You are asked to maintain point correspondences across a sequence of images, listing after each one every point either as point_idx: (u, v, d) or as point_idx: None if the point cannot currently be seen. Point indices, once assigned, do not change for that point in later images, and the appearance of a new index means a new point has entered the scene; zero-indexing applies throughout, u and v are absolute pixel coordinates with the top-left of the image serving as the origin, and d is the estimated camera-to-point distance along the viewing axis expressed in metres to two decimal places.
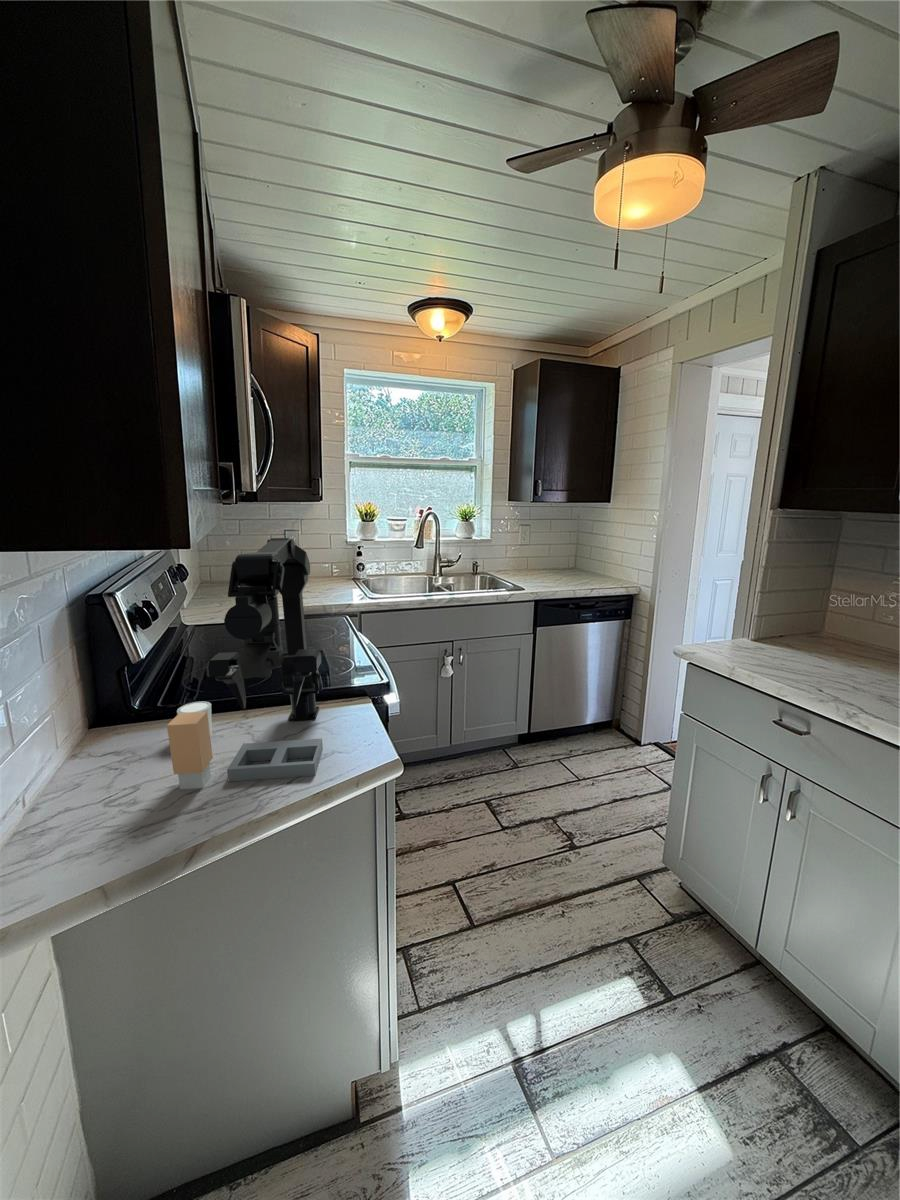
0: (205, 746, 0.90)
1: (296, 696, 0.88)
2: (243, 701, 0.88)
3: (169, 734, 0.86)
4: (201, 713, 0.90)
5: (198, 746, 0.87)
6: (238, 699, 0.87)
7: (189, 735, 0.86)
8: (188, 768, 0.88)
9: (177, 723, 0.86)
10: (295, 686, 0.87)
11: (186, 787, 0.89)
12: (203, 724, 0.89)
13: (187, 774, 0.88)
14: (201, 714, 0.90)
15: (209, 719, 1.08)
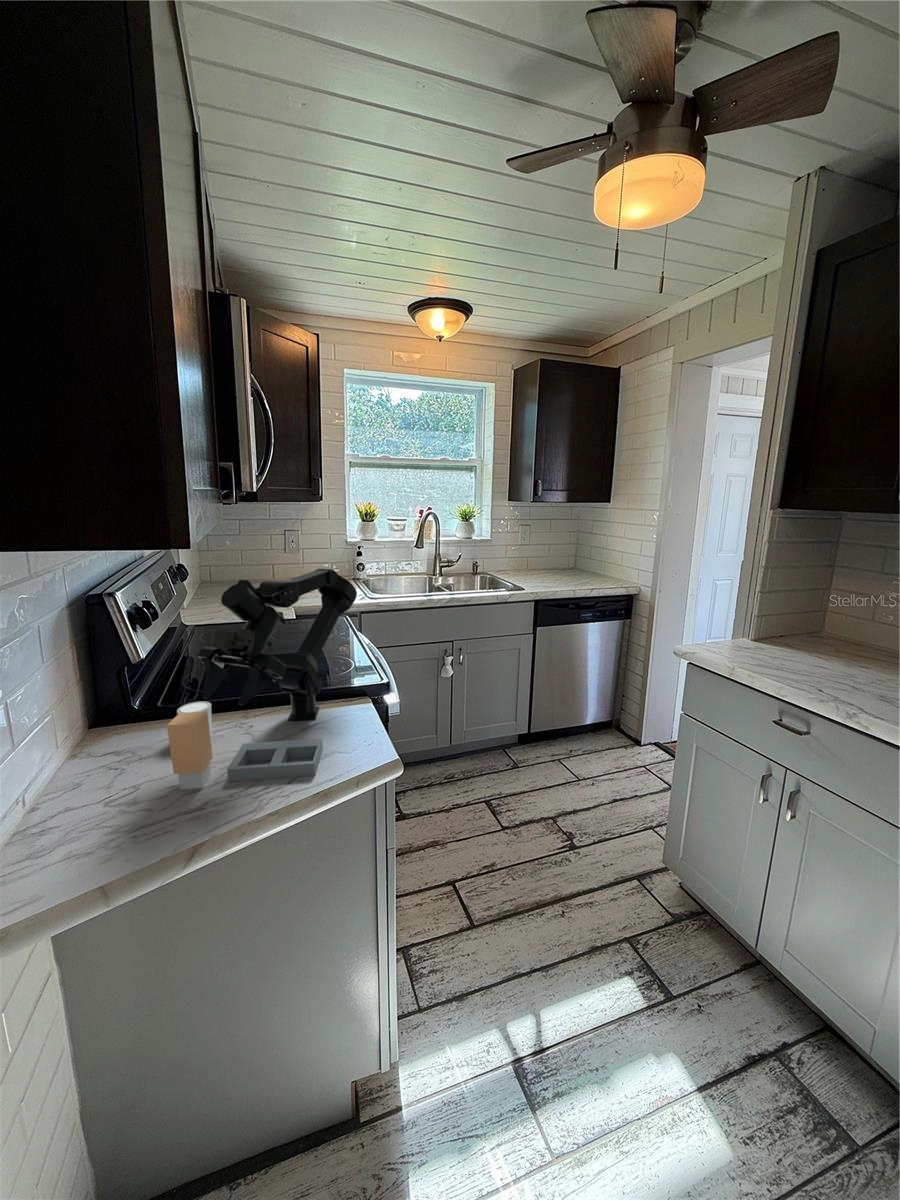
0: (205, 746, 0.90)
1: (244, 693, 0.93)
2: (207, 690, 0.97)
3: (169, 734, 0.86)
4: (201, 713, 0.90)
5: (198, 746, 0.87)
6: (205, 686, 0.97)
7: (189, 735, 0.86)
8: (188, 768, 0.88)
9: (177, 723, 0.86)
10: (248, 682, 0.94)
11: (186, 787, 0.89)
12: (203, 724, 0.89)
13: (187, 774, 0.88)
14: (201, 714, 0.90)
15: (209, 719, 1.08)
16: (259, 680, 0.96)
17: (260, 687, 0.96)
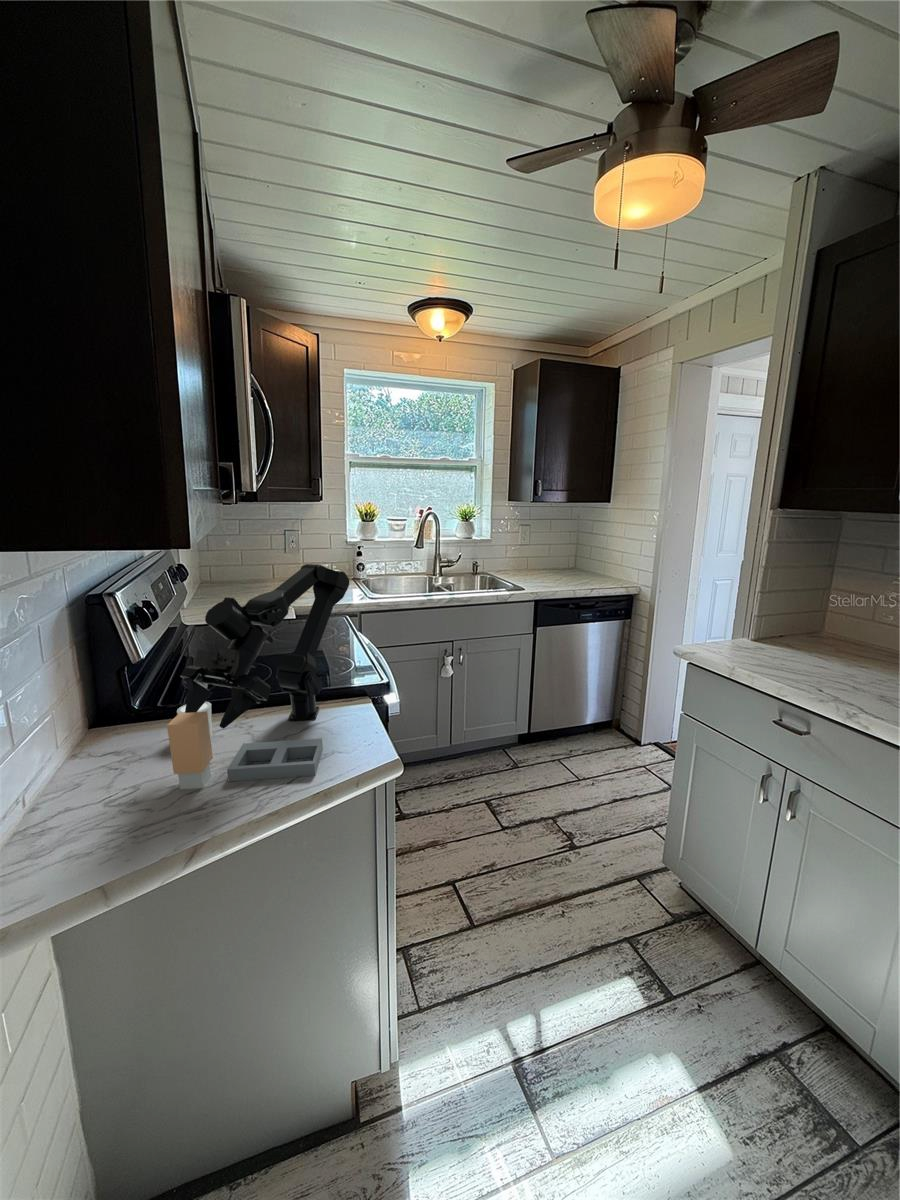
0: (205, 746, 0.90)
1: (226, 715, 0.90)
2: (189, 711, 0.94)
3: (169, 734, 0.86)
4: (201, 713, 0.90)
5: (198, 746, 0.87)
6: (186, 707, 0.94)
7: (189, 735, 0.86)
8: (188, 768, 0.88)
9: (177, 723, 0.86)
10: (230, 704, 0.91)
11: (186, 787, 0.89)
12: (203, 724, 0.89)
13: (187, 774, 0.88)
14: (201, 714, 0.90)
15: (209, 719, 1.08)
16: (242, 701, 0.93)
17: (243, 709, 0.93)
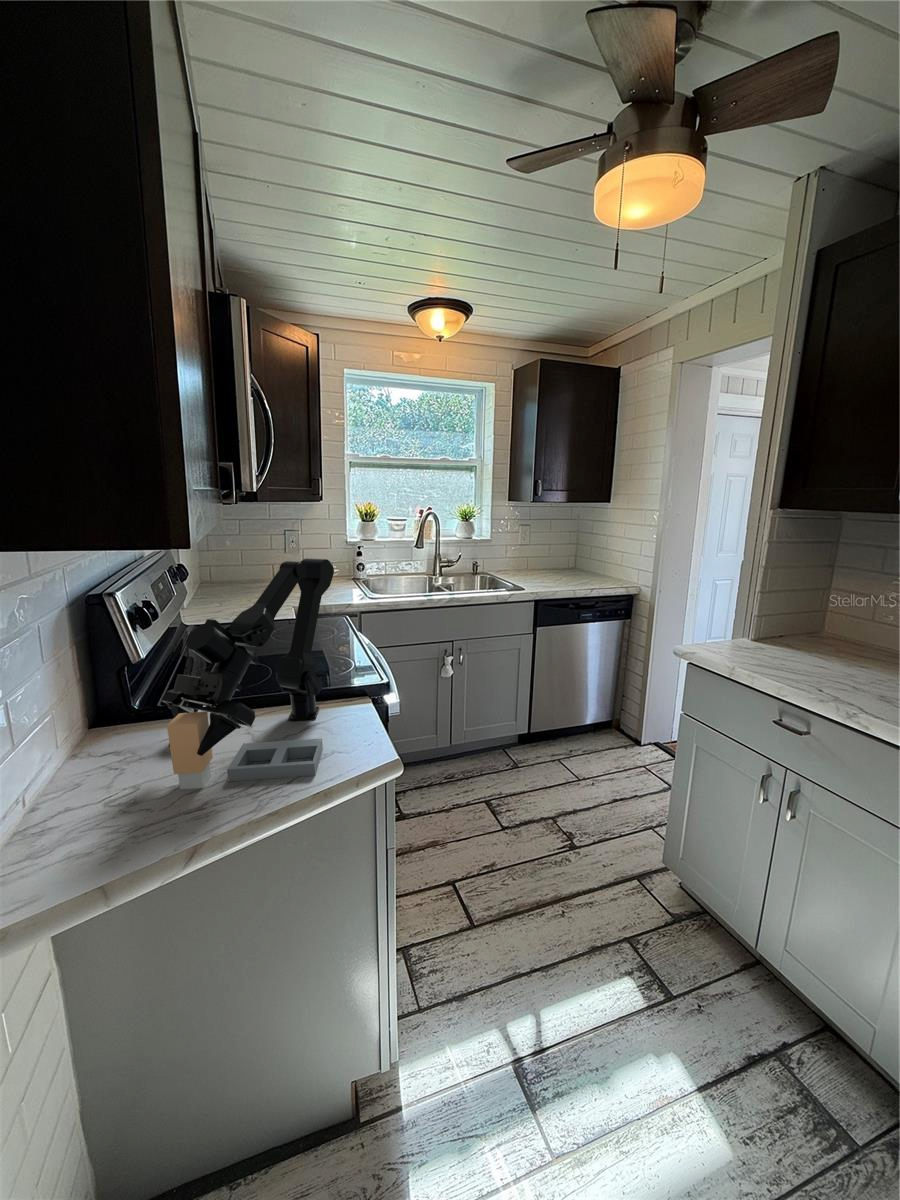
0: None
1: (203, 742, 0.87)
2: None
3: (169, 734, 0.86)
4: (201, 713, 0.90)
5: (198, 746, 0.87)
6: None
7: (189, 735, 0.86)
8: (188, 768, 0.88)
9: (177, 723, 0.86)
10: (208, 730, 0.88)
11: (186, 787, 0.89)
12: (203, 724, 0.89)
13: (187, 774, 0.88)
14: (201, 714, 0.90)
15: (209, 719, 1.08)
16: (221, 727, 0.90)
17: (222, 735, 0.90)
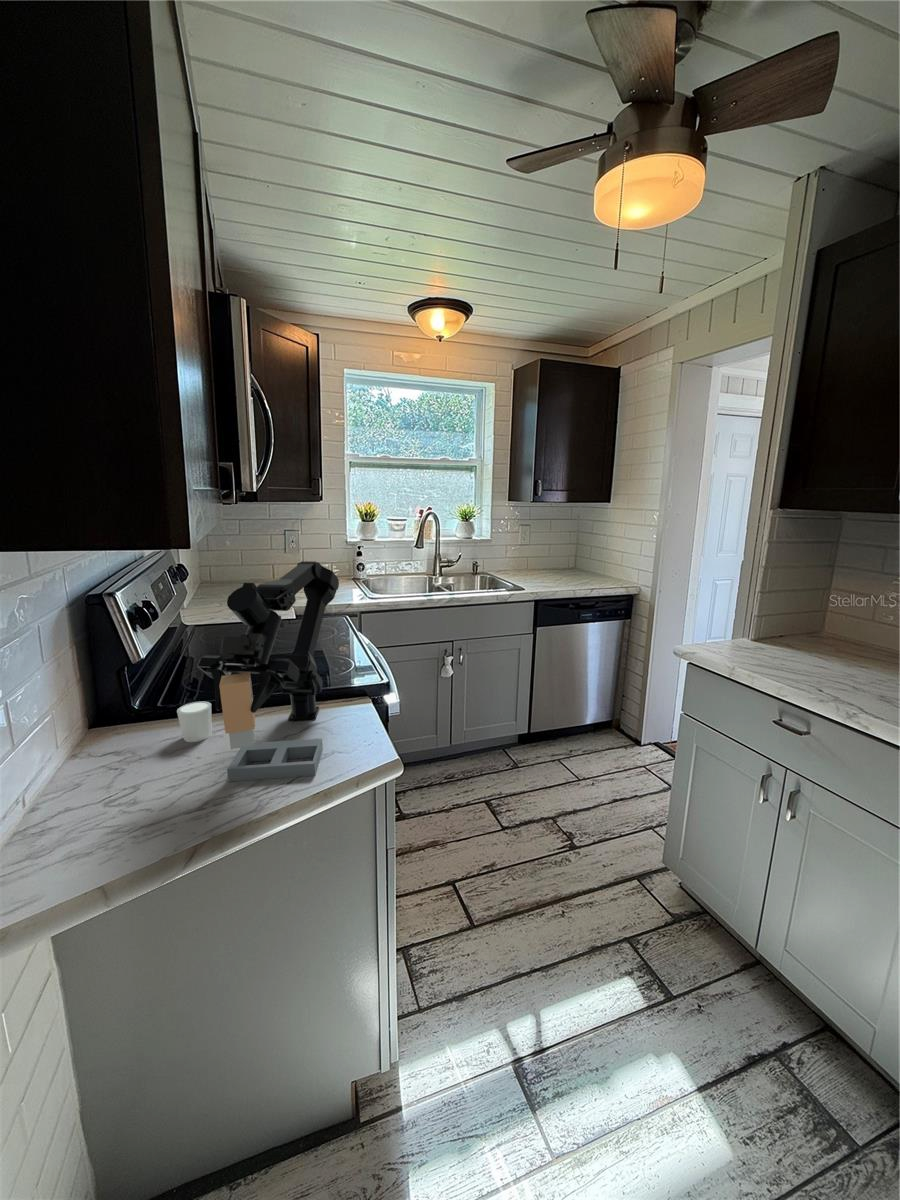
0: None
1: (256, 699, 0.90)
2: (220, 701, 0.91)
3: (221, 694, 0.88)
4: (246, 674, 0.93)
5: (250, 703, 0.90)
6: (216, 697, 0.91)
7: (241, 694, 0.89)
8: (240, 726, 0.90)
9: (229, 683, 0.88)
10: (258, 688, 0.91)
11: (237, 746, 0.91)
12: (250, 683, 0.92)
13: (238, 733, 0.91)
14: (246, 675, 0.92)
15: (209, 719, 1.08)
16: (268, 685, 0.93)
17: (269, 692, 0.93)
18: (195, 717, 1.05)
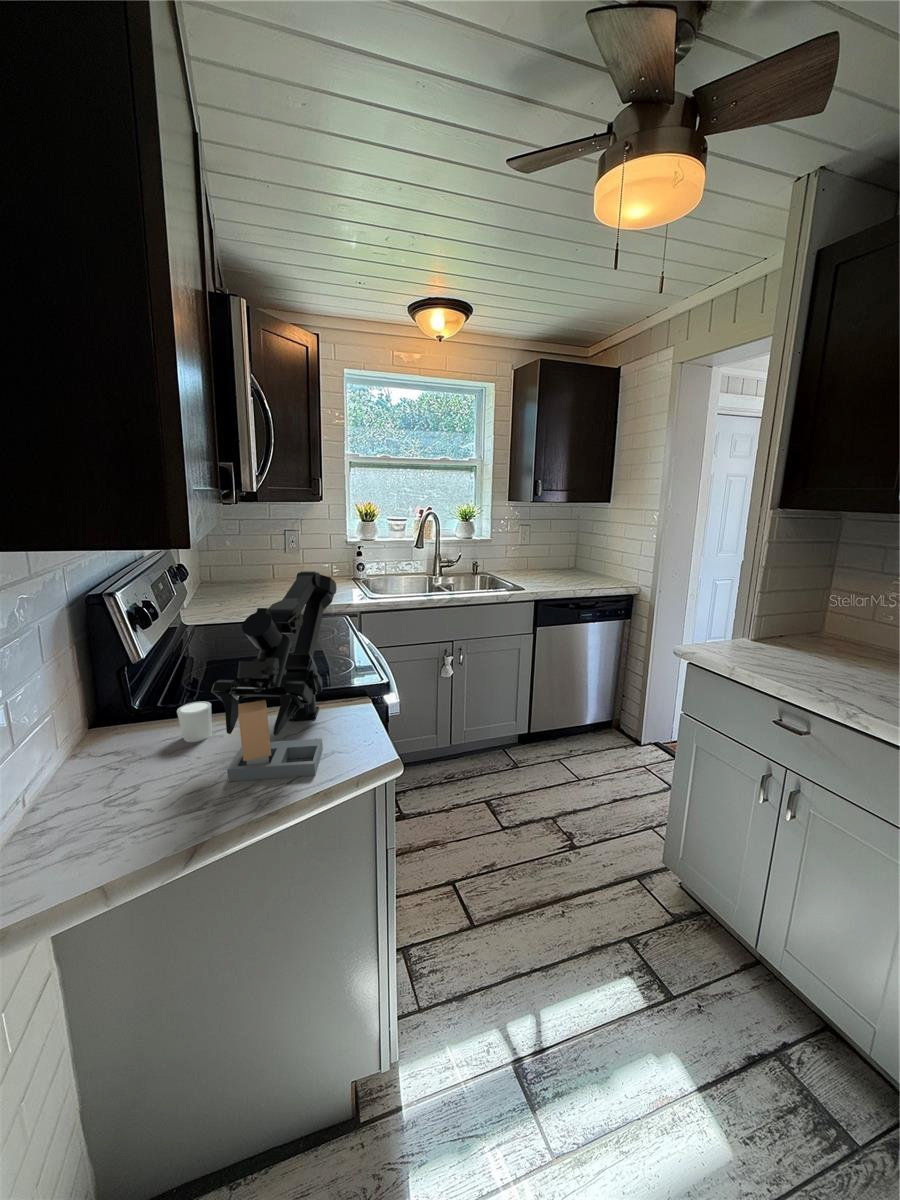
0: None
1: (278, 722, 0.92)
2: (230, 725, 0.93)
3: (240, 723, 0.90)
4: (262, 701, 0.95)
5: (268, 731, 0.92)
6: (227, 721, 0.93)
7: (259, 721, 0.91)
8: (257, 753, 0.92)
9: (247, 712, 0.91)
10: (280, 711, 0.93)
11: None
12: None
13: (255, 760, 0.93)
14: (262, 702, 0.95)
15: (209, 719, 1.08)
16: (288, 707, 0.95)
17: (290, 715, 0.95)
18: (195, 717, 1.05)
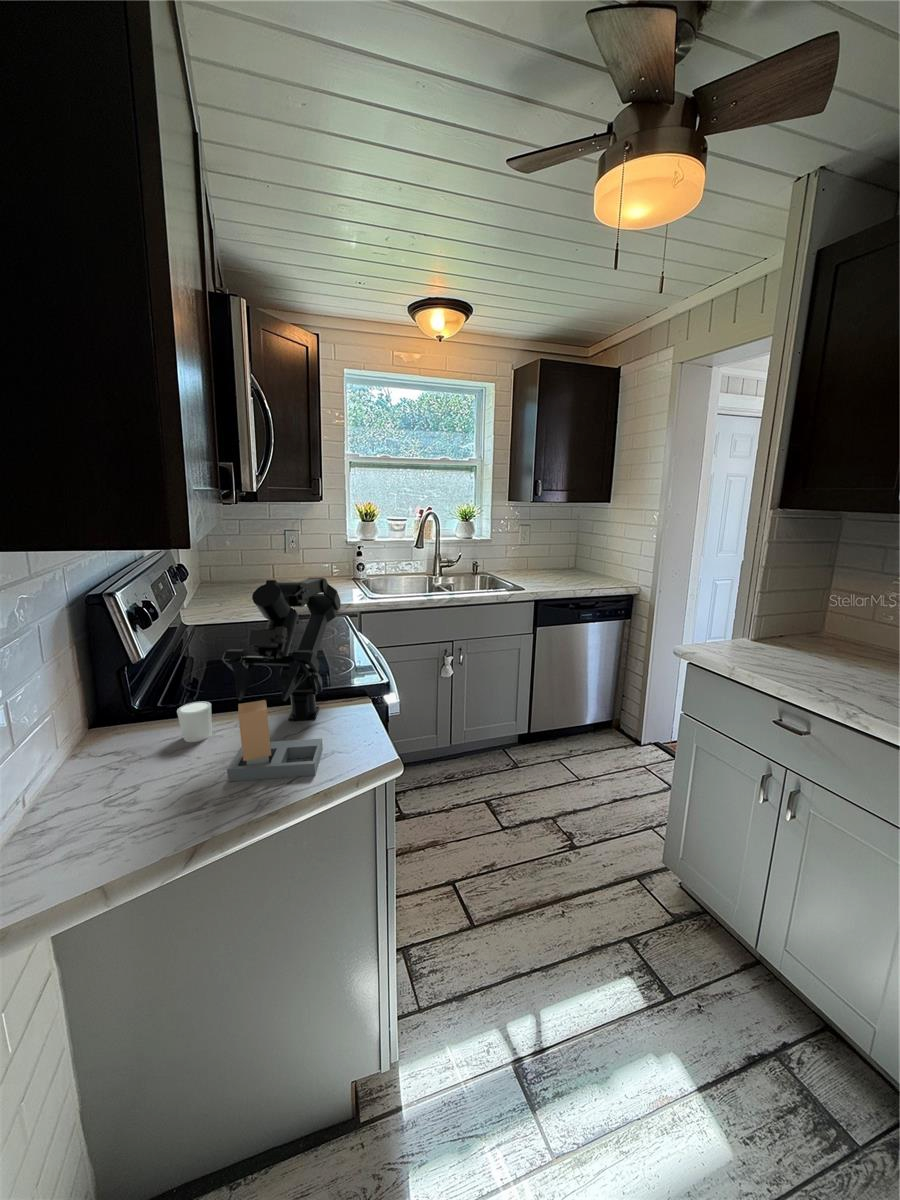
0: None
1: (286, 688, 0.96)
2: (241, 691, 0.97)
3: (240, 722, 0.90)
4: (262, 701, 0.95)
5: (268, 731, 0.92)
6: (237, 687, 0.97)
7: (259, 721, 0.91)
8: (257, 753, 0.92)
9: (247, 711, 0.91)
10: (288, 678, 0.97)
11: None
12: None
13: (255, 760, 0.93)
14: (262, 702, 0.95)
15: (209, 719, 1.08)
16: (296, 675, 0.99)
17: (297, 682, 0.99)
18: (195, 717, 1.05)
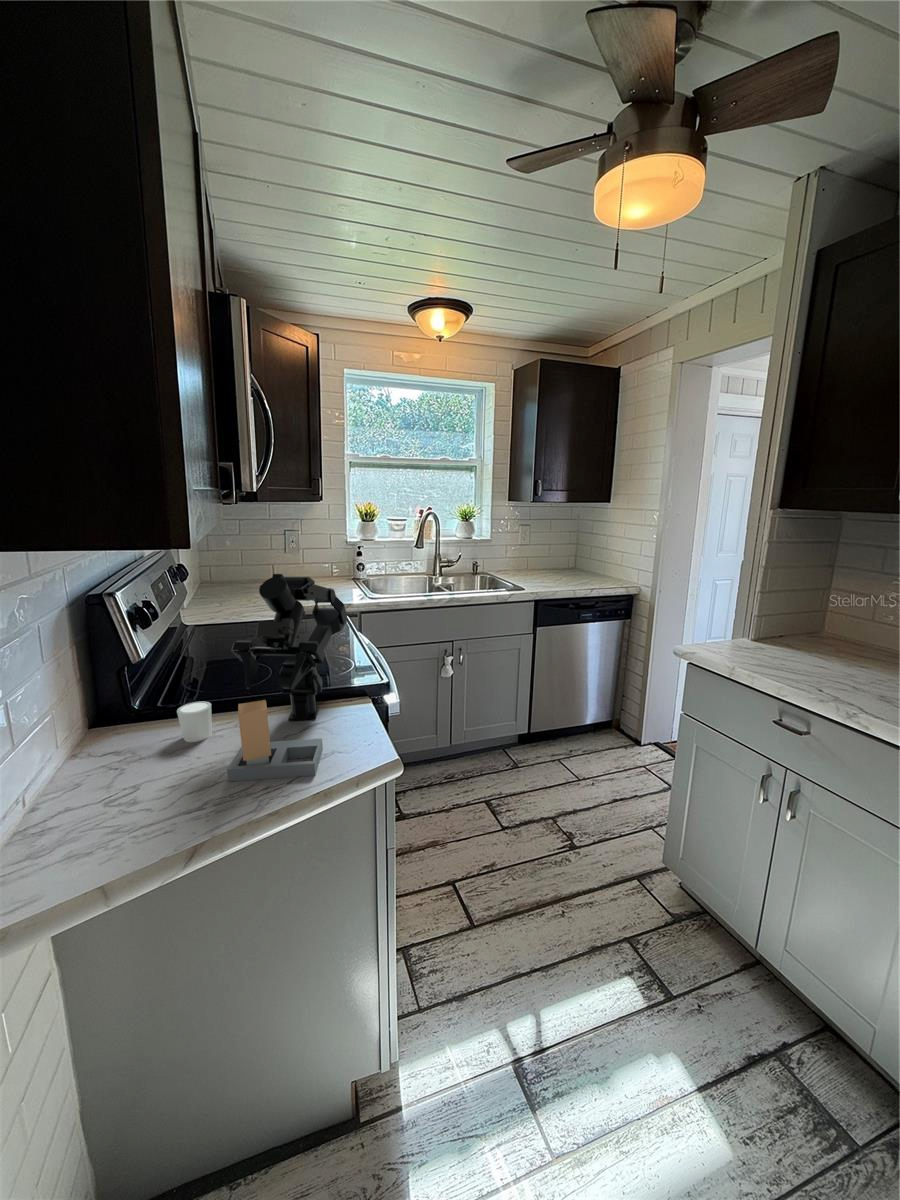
0: None
1: (293, 677, 1.00)
2: (249, 680, 1.01)
3: (240, 722, 0.90)
4: (262, 701, 0.95)
5: (268, 731, 0.92)
6: (246, 677, 1.01)
7: (259, 721, 0.91)
8: (257, 753, 0.92)
9: (247, 712, 0.91)
10: (295, 668, 1.01)
11: None
12: None
13: (255, 760, 0.93)
14: (262, 702, 0.95)
15: (209, 719, 1.08)
16: (302, 665, 1.03)
17: (304, 672, 1.03)
18: (195, 717, 1.05)
